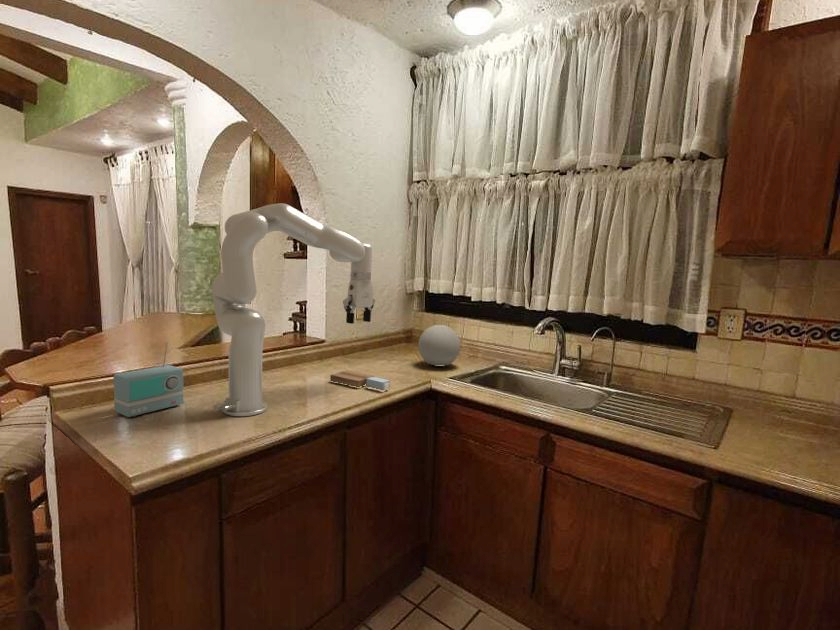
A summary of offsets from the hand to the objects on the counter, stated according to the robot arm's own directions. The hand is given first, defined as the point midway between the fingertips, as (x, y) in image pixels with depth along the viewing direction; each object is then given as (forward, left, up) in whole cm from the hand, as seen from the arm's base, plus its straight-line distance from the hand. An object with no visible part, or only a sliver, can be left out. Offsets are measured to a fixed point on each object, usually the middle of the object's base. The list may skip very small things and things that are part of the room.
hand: (358, 322), depth 160 cm
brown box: (+3, +4, -25) cm, 25 cm away
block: (+2, -5, -23) cm, 24 cm away
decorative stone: (+52, -8, -25) cm, 58 cm away
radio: (-59, +30, -25) cm, 71 cm away
